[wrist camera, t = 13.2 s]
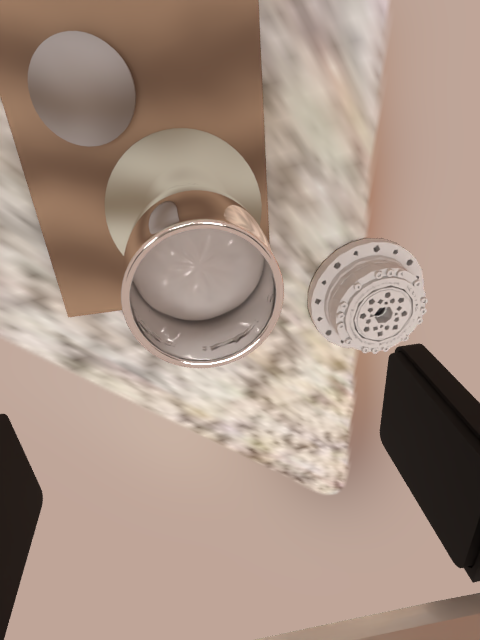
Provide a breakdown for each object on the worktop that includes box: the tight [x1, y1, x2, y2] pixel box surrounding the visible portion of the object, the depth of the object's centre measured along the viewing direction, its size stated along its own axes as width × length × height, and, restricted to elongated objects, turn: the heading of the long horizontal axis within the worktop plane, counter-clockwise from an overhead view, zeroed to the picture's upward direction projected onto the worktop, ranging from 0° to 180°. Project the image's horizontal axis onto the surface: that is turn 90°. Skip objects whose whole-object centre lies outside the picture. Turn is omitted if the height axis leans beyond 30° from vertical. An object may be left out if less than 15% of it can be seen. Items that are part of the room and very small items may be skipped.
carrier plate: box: [0, 0, 269, 317], centre depth 29 cm, size 20×16×2 cm
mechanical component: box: [308, 238, 428, 354], centre depth 36 cm, size 10×4×10 cm
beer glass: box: [121, 166, 284, 368], centre depth 24 cm, size 7×7×15 cm
